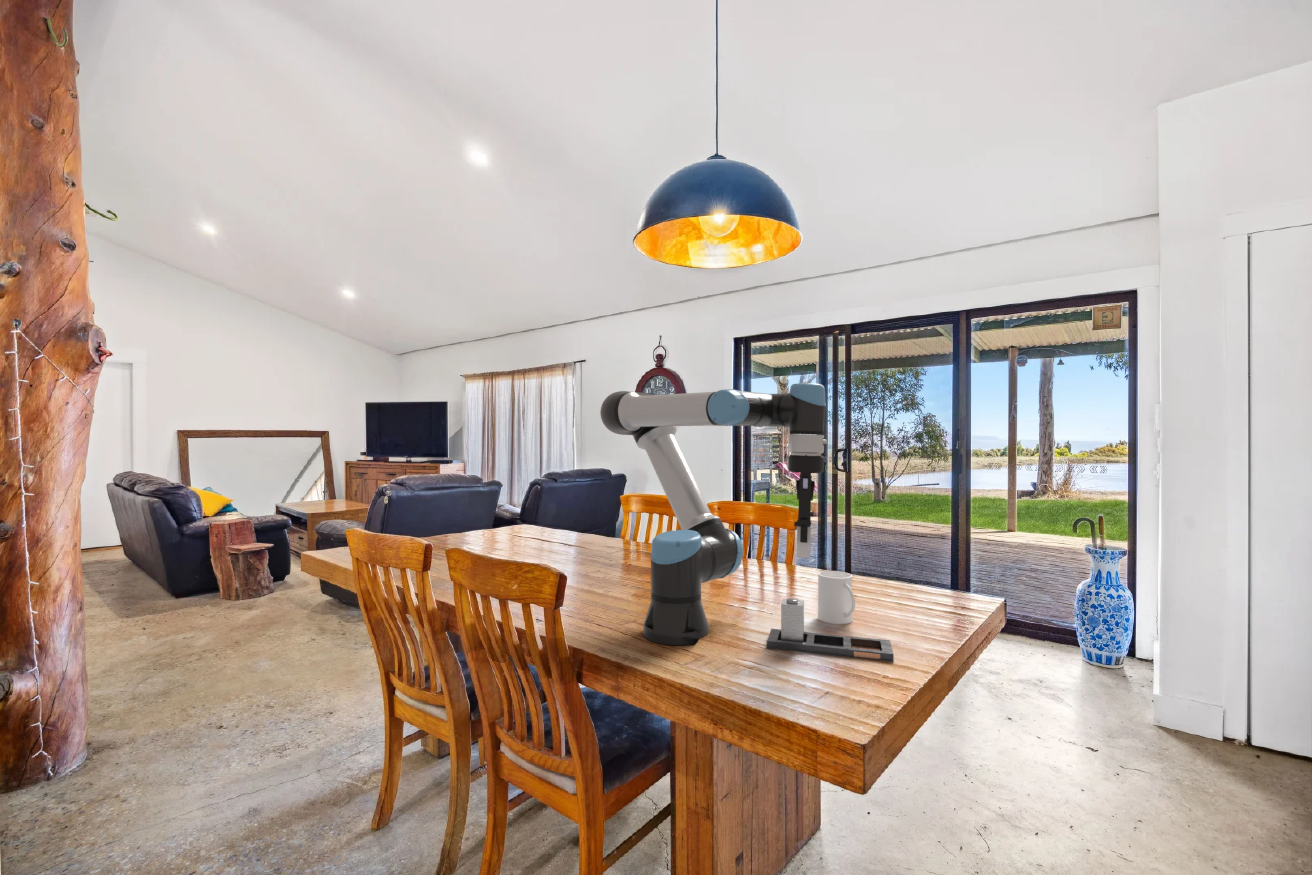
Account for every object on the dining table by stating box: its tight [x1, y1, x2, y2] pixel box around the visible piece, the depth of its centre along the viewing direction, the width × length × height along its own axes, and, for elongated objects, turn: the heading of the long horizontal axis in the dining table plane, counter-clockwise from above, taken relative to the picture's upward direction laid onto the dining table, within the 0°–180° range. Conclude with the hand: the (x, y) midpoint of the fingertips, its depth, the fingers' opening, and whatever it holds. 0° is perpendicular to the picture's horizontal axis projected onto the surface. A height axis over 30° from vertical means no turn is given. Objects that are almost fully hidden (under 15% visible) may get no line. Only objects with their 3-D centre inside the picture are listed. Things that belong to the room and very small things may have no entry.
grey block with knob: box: [780, 598, 805, 643], centre depth 127 cm, size 4×4×10 cm
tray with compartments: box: [766, 628, 894, 663], centre depth 124 cm, size 25×8×2 cm, turn 73°
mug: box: [817, 570, 856, 625], centre depth 143 cm, size 12×8×12 cm
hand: (803, 551), depth 128 cm, fingers open, 13 cm apart
